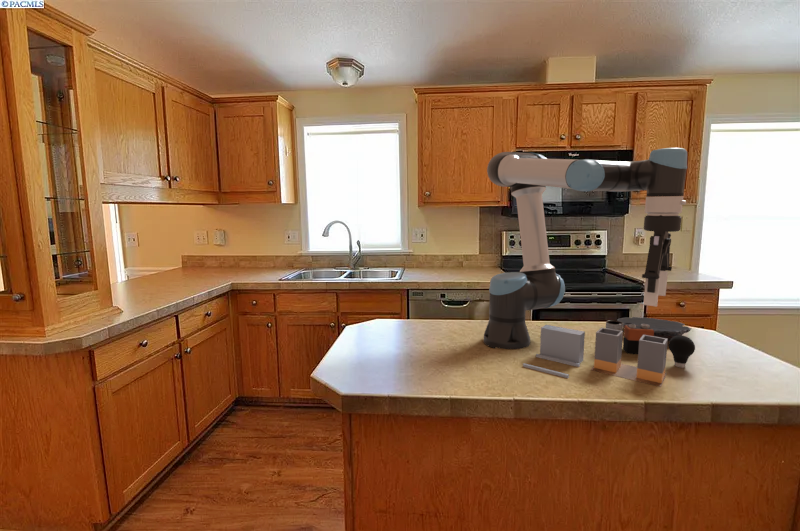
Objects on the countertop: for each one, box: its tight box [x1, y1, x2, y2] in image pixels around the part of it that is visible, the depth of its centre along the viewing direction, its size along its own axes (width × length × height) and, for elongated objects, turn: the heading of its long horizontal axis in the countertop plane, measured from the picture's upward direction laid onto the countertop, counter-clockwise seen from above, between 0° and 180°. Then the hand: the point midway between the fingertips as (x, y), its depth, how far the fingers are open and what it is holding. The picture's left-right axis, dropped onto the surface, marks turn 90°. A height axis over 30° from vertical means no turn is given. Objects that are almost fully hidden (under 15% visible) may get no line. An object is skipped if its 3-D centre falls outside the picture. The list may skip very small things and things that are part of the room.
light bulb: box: [668, 335, 696, 369], centre depth 107 cm, size 6×6×10 cm
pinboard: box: [590, 363, 668, 388], centre depth 104 cm, size 16×10×8 cm, turn 49°
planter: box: [605, 319, 624, 332], centre depth 119 cm, size 4×4×10 cm
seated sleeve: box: [593, 327, 624, 373], centre depth 106 cm, size 5×5×10 cm
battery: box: [622, 324, 654, 355], centre depth 118 cm, size 4×7×10 cm, turn 78°
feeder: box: [522, 324, 586, 379], centre depth 110 cm, size 12×15×10 cm
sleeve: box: [636, 335, 669, 383], centre depth 100 cm, size 5×5×10 cm
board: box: [616, 316, 692, 342], centre depth 137 cm, size 22×22×5 cm
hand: (654, 300), depth 98 cm, fingers open, 13 cm apart
